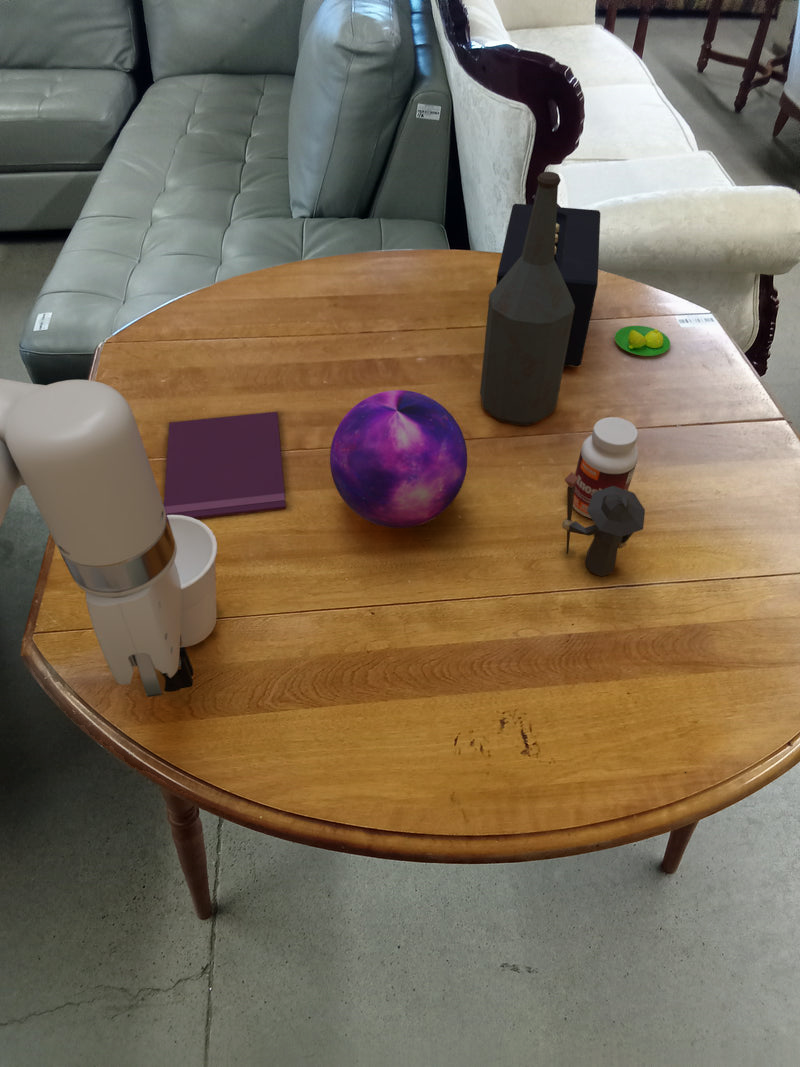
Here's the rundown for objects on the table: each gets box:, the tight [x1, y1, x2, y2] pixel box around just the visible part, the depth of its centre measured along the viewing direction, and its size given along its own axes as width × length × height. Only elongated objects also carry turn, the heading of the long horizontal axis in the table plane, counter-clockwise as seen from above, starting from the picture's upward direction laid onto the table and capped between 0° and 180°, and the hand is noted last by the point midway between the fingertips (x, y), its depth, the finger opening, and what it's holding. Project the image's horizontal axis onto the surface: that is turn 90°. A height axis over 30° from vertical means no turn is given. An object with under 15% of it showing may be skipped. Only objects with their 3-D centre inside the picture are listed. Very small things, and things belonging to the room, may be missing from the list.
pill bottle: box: [573, 416, 639, 520], centre depth 85 cm, size 6×6×11 cm
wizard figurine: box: [561, 471, 646, 577], centre depth 78 cm, size 8×6×12 cm
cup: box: [167, 515, 218, 648], centre depth 73 cm, size 10×10×11 cm
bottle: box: [479, 171, 575, 426], centre depth 91 cm, size 10×10×30 cm
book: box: [163, 411, 287, 520], centre depth 93 cm, size 14×18×1 cm
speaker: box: [495, 203, 601, 368], centre depth 109 cm, size 22×13×15 cm, turn 169°
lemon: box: [614, 325, 671, 357], centre depth 111 cm, size 8×8×3 cm
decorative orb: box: [329, 389, 468, 529], centre depth 83 cm, size 15×15×15 cm
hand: (175, 681), depth 67 cm, fingers closed
